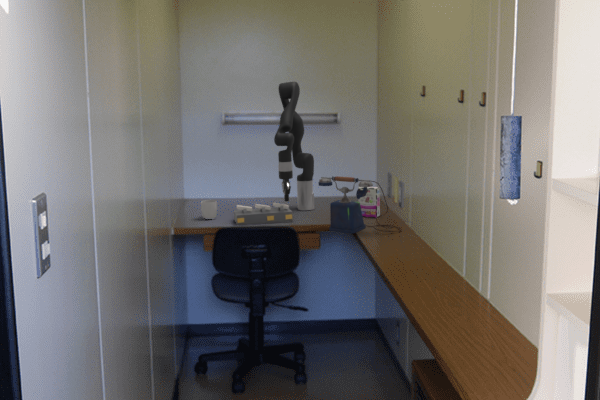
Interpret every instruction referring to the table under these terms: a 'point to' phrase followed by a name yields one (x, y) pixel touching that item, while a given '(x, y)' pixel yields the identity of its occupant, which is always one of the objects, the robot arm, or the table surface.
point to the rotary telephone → (349, 207)
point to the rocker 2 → (280, 205)
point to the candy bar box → (370, 202)
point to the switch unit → (263, 216)
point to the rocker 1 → (244, 207)
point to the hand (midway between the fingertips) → (286, 201)
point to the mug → (209, 208)
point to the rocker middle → (262, 206)
